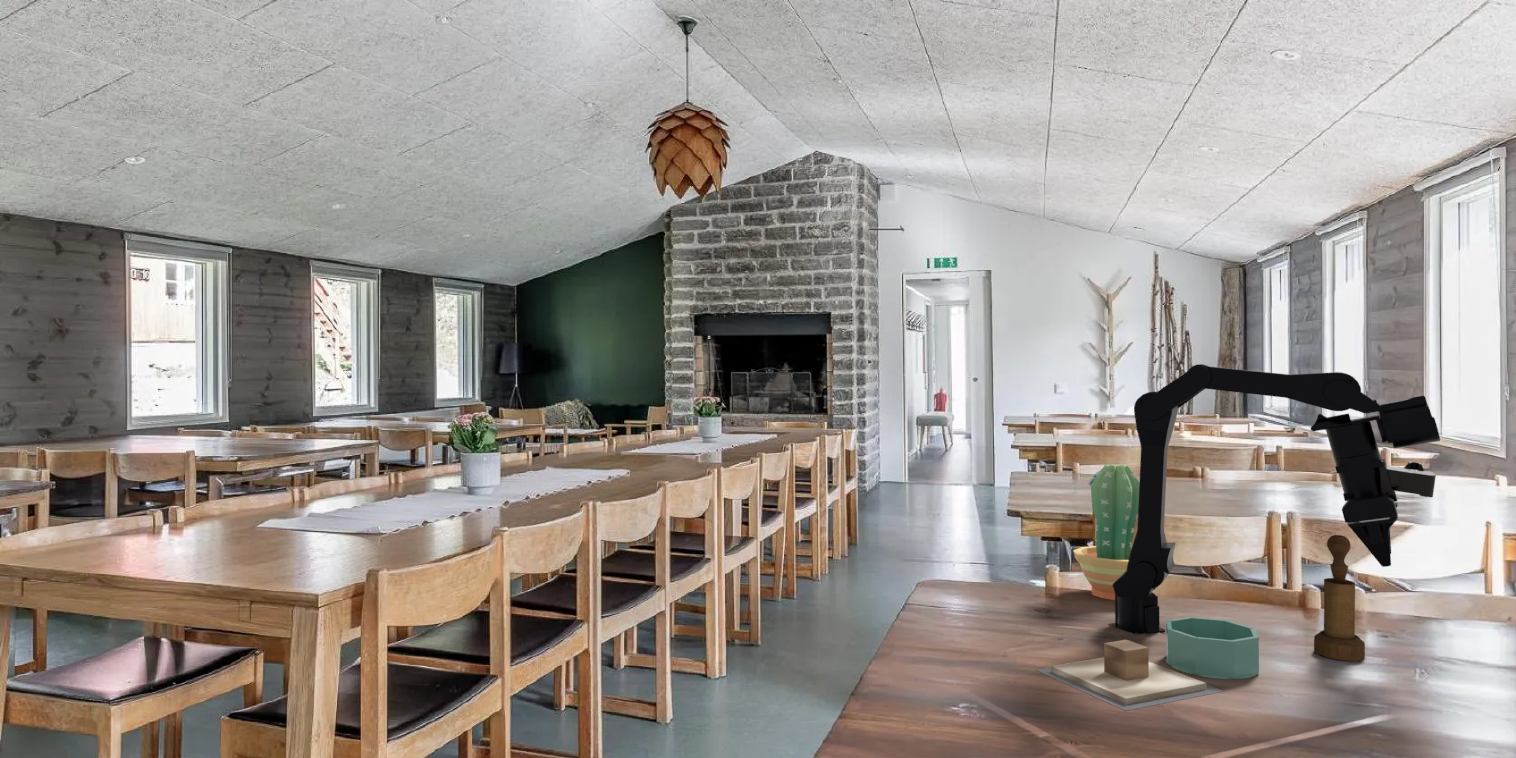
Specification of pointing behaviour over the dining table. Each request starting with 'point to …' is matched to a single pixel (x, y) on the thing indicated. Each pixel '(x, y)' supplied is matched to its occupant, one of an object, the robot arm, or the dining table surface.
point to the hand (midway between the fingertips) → (1386, 560)
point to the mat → (1135, 705)
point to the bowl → (1212, 648)
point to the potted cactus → (1110, 528)
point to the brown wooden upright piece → (1339, 609)
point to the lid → (1127, 675)
